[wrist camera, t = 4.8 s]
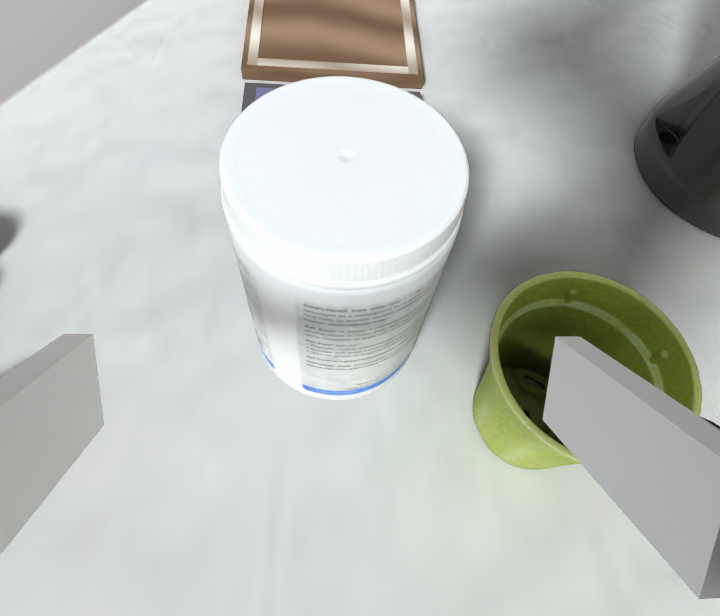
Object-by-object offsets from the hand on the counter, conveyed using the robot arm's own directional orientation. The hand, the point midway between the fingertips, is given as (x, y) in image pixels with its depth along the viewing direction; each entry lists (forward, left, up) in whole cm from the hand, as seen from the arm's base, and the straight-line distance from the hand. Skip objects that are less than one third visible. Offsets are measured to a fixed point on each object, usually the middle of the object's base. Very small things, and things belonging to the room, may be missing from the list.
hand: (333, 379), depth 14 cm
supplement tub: (+6, -6, -15) cm, 17 cm away
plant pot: (-5, -11, -15) cm, 19 cm away
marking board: (+29, -26, -14) cm, 41 cm away
